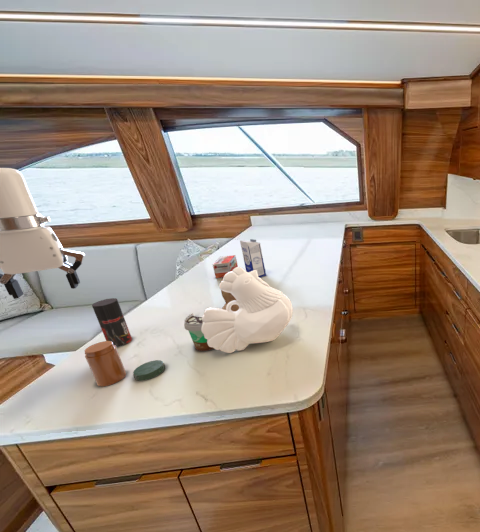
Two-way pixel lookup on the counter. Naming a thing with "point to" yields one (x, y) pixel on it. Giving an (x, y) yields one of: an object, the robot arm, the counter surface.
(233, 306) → the stone cup
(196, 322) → the food container
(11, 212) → the robot arm
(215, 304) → the counter surface
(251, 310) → the decorative rooster
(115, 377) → the jar
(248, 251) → the milk carton
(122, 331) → the deodorant
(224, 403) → the counter surface
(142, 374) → the lid
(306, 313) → the counter surface
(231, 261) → the medicine box
